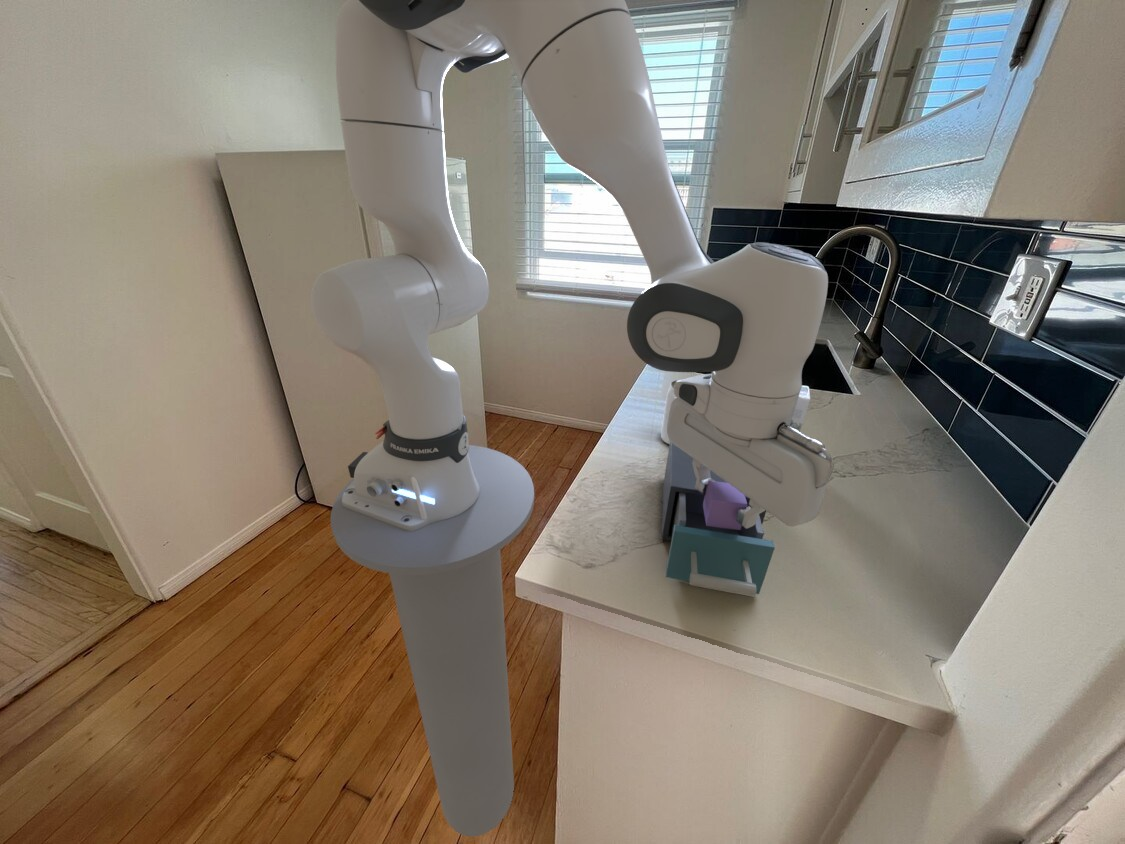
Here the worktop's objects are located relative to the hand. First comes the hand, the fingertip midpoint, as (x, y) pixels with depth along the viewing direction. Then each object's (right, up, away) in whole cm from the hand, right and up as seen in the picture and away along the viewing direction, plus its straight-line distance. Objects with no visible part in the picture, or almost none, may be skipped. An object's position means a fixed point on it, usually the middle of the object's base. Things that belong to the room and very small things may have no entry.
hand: (723, 506), depth 54 cm
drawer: (0, -8, +5) cm, 10 cm away
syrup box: (+21, +3, +31) cm, 37 cm away
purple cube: (0, -2, +1) cm, 2 cm away
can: (+3, +7, +36) cm, 36 cm away
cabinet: (+2, -4, +15) cm, 16 cm away
